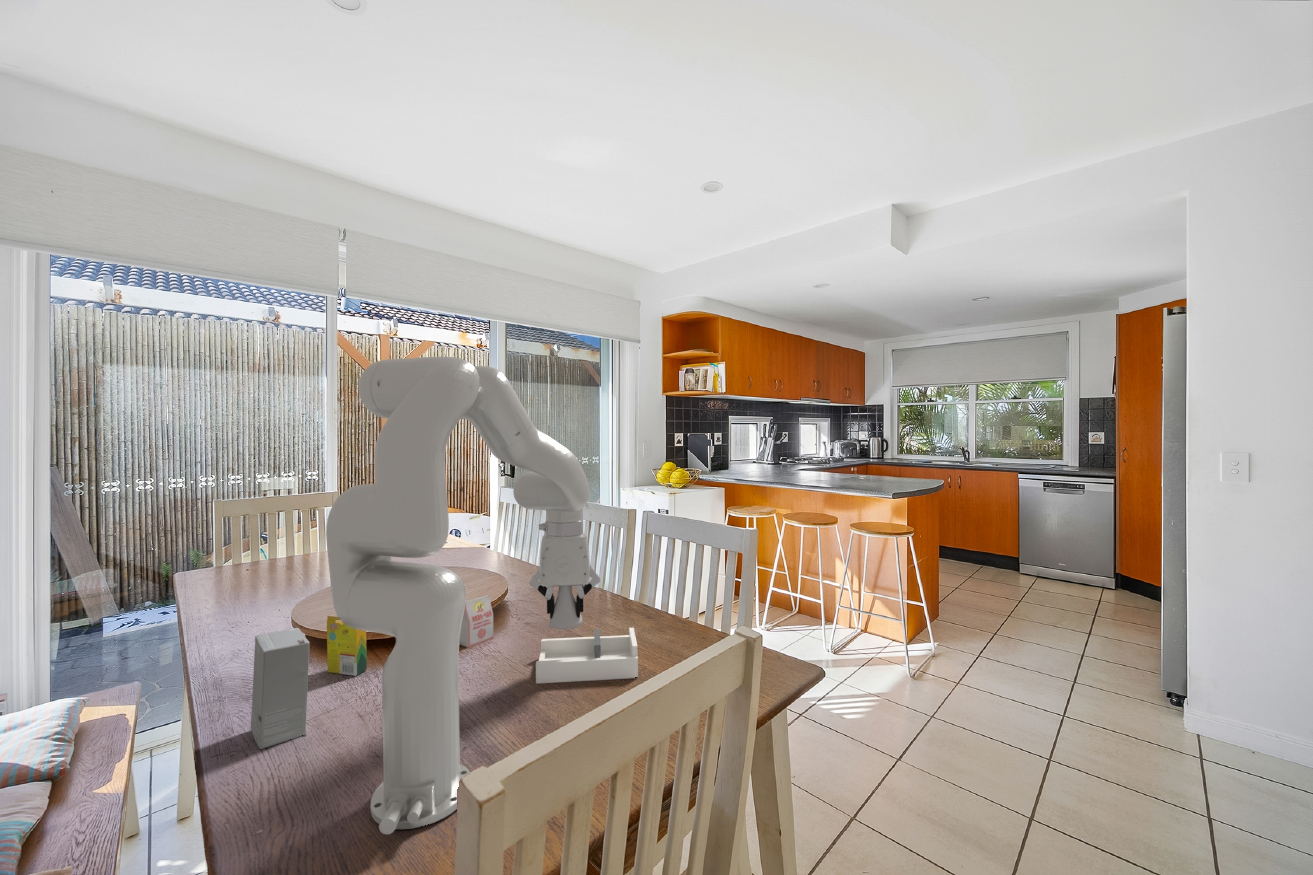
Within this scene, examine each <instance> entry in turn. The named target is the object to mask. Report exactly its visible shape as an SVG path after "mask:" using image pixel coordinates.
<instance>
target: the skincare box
mask: <svg viewBox="0 0 1313 875" xmlns="http://www.w3.org/2000/svg"><path fill="white" fill-rule="evenodd" d="M310 644H311V643H310V641H309V640H308V639H307V638H306V633H304V632H303V631H302V630H301V629H300V628H299V627H294V628H289V629H283V630H279V631H271V632H267V633H260V634H257V635H254V653H253V654H254V659H253V675H252V676H253V679H252V680H253V681H252V698H251V700H252V702H251V719H250V731H251V733H252V737H253V739H254V740H255V741H254V742H255V743H256V744H257V747H258V748H259V749H260V750H262V749H265V748H270V747H272V746H276V745H279V744H281V743H284V742H287V741H290V739H291V740H294V739H296V738H297V739H298V738H300V737H303V736H305V735H306V734H307V733H306V732H307V727H306V726H307V710H308V709H307V705H308V687H309V686H308V685H309V683H308V682H309V680H308V679H309V666H310ZM302 735H303V736H302ZM299 736H300V737H299Z"/></svg>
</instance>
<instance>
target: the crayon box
mask: <svg viewBox="0 0 1313 875" xmlns="http://www.w3.org/2000/svg"><path fill="white" fill-rule="evenodd" d="M326 645H327V646H326V647H327V648H326V649H327V652H326V653H327V655H326V656H327V673H331V674H332V673H333V674H340V675H346V676H347V675H348V676H353V677H358V676H359V675H361V674H362V673H364V672H366V671H367V669H368V663H367V655H368V654H367V631H363V630H358V629H354V628H351V627H349V626H347V625H345V624H344V623H343V622H342V621H341V620H340V619H339V617H338V616H333V615H332V616H331V615H327V619H326Z"/></svg>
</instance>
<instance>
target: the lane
mask: <svg viewBox="0 0 1313 875" xmlns="http://www.w3.org/2000/svg"><path fill="white" fill-rule="evenodd" d="M600 645H601V658H594V636H583V637H582V636H581V637H579V636H578V637H560V638H558V637H557V638H542V639H541V641H540V654H539V658H538V660H536V662H535V684H536V685H537V684H551V683H553V684H554V683H571V682H588V681H589V682H590V681H607V680H621V679H622V680H625V679H626V680H627V679H636V678H635V677H638V678H639V656H638V649H639V648H638V643H637V638H636V632H635V627H629V628H628V634H625V635H620V634H619V635H603V636H602V635H600Z"/></svg>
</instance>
